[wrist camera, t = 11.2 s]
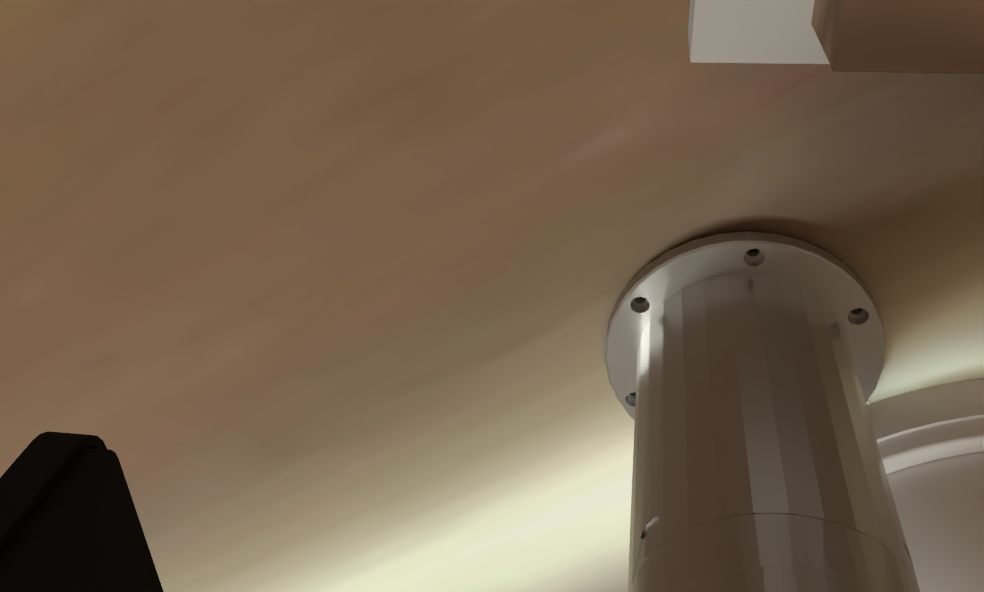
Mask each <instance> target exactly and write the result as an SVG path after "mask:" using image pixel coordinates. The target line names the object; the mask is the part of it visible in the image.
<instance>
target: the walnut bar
mask: <svg viewBox="0 0 984 592" xmlns="http://www.w3.org/2000/svg"><path fill="white" fill-rule="evenodd" d="M811 24H812V27H813V29H814V31H815V33H816V35H817V37H818V40H819V42H820V44H821V46H822V48H823V50H824V52H825V55H826V57H827V59H828V61H829V63H830V65H831V67H832V70H833V71H837V72H910V73H982V74H984V0H815V1H814V8H813V15H812V22H811Z"/></svg>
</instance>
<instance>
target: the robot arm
mask: <svg viewBox="0 0 984 592" xmlns="http://www.w3.org/2000/svg"><path fill="white" fill-rule="evenodd" d="M750 249H757V250H756V251H753V252H751V251H749V250H750ZM637 297H643V298H637ZM884 351H885V342H884V335H883V328H882V323H881V320H880V317H879V314H878V311H877V309H876V306H875V303H874V301H873V300H872V298H871V296H870V294H869V293H868V291H867V289H866V287H865V285H864V284H863V283H862V282H861V280H860V279H859V278H858V277H857V276H856V275H855V274H854V273H853V272H852V271H851V270H850V268H849V267H848V266H846V265H845V264H844V263H842V262H841V261H839V260H838V259H837V258H835V257H834V256H832V255H831V254H830V253H828V252H827V251H825V250H822V249H820V248H818V247H816V246H814V245H811V244H809V243H807V242H805V241H803V240H799V239H795V238H791V237H787V236H783V235H779V234H774V233H762V232H750V231H746V232H733V233H721V234H716V235H712V236H708V237H704V238H700V239H696V240H692V241H690V242H688V243H685V244H683V245H681V246H679V247H676V248H674V249H672V250H669V251H667V252H666V253H664V254H663V255H661V256H660V257H658V258H657V259H655V260H654V261H652V262H651V263H649V264H648V265H646V266H645V267H644V268H643V269H642V270H641V271H640V272H639V273H638V274H637V275H636V276H635V277H634V278H633V279H632V280H631V281H630V282H629V283H628V285H627V286H626V288H625V289H624V291H623V292H622V294H621V295H620V297H619V298H618V300H617V301H616V304H615V306H614V309H613V311H612V314H611V316H610V319H609V323H608V329H607V336H606V347H605V363H606V368H607V373H608V378H609V382H610V384H611V386H612V388H613V390H614V393H615V395H616V397H617V399H618V401H619V402H620V403H621V405H622V406H623V407H624V409H625V410H626V411H627V413H628V414H629V416H630V417H631V418H633V419H634V420H635V428H634V452H633V476H632V500H631V524H630V548H629V572H628V592H921V591H920V589H919V585H918V581H917V578H916V574H915V570H914V567H913V563H912V559H911V556H910V553H909V549H908V546H907V543H906V539H905V536H904V532H903V529H902V526H901V522H900V519H899V515H898V512H897V509H896V505H895V502H894V499H893V495H892V492H891V488H890V485H889V482H888V478H887V475H886V471H885V468H884V464H883V461H882V457H881V454H880V450H879V447H878V444H877V440H876V437H875V433H874V430H873V426H872V423H871V419H870V416H869V412H868V409H867V406H866V402H867V400H868V399H869V397H870V396H871V394H872V392H873V391H874V389H875V388H876V385H877V382H878V379H879V376H880V374H881V371H882V368H883V361H884ZM0 592H163V589H162V586H161V583H160V580H159V577H158V574H157V571H156V569H155V566H154V563H153V560H152V557H151V554H150V551H149V548H148V545H147V542H146V539H145V536H144V533H143V530H142V527H141V524H140V521H139V518H138V515H137V512H136V509H135V506H134V503H133V500H132V497H131V495H130V492H129V489H128V486H127V483H126V480H125V477H124V474H123V471H122V468H121V465H120V462H119V459H118V457H117V455H116V453H115V452H113V451H112V450H107V448H106V446H105V444H104V442H103V440H101V439H100V438H99V437H98V436H94V435H83V434H71V433H59V432H45V433H42V434H40V435H38V436H37V437H36V438H35V439H34V440H33V441H32V442H31V443H30V444H29V445H28V447H27V448H26V449H25V450H24V451H23V452H22V453H21V455H20V456H19V457H18V458H17V459H16V460H15V462H14V463H13V464H12V465H11V466H10V467H9V469H8V470H7V471H6V472H5V473H4V474H3V475H2V477H1V478H0Z"/></svg>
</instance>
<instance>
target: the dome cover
mask: <svg viewBox="0 0 984 592" xmlns="http://www.w3.org/2000/svg"><path fill="white" fill-rule="evenodd" d="M867 409H868V412H869V416H870V419H871V423H872V426H873V430H874V433H875V437H876V440H877V444H878V447H879V450H880V454H881V457H882V461H883V464H884V468H885V471H886V475H887V478H888V482H889V485H890V488H891V492H892V495H893V499H894V502H895V505H896V509H897V512H898V515H899V519H900V522H901V526H902V529H903V532H904V536H905V539H906V543H907V546H908V549H909V553H910V556H911V559H912V563H913V567H914V570H915V574H916V578H917V581H918V585H919V589H920V591H921V592H984V379H975V380H968V381H962V382H955V383H948V384H942V385H938V386H933V387H929V388H924V389H919V390H915V391H911V392H907V393H904V394H900V395H897V396H894V397H890V398H887V399H883V400H880V401H878V402H875V403H872V404H870V405H867Z"/></svg>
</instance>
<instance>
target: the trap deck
mask: <svg viewBox="0 0 984 592" xmlns="http://www.w3.org/2000/svg"><path fill="white" fill-rule="evenodd" d="M814 1H815V0H690V10H689V23H688V37H689V51H690V62H708V63H787V64H830V63H829V61H828V59H827V57H826V55H825V52H824V50H823V48H822V46H821V44H820V42H819V40H818V37H817V35H816V33H815V31H814V29H813V27H812V24H811V22H812V15H813V8H814Z"/></svg>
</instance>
